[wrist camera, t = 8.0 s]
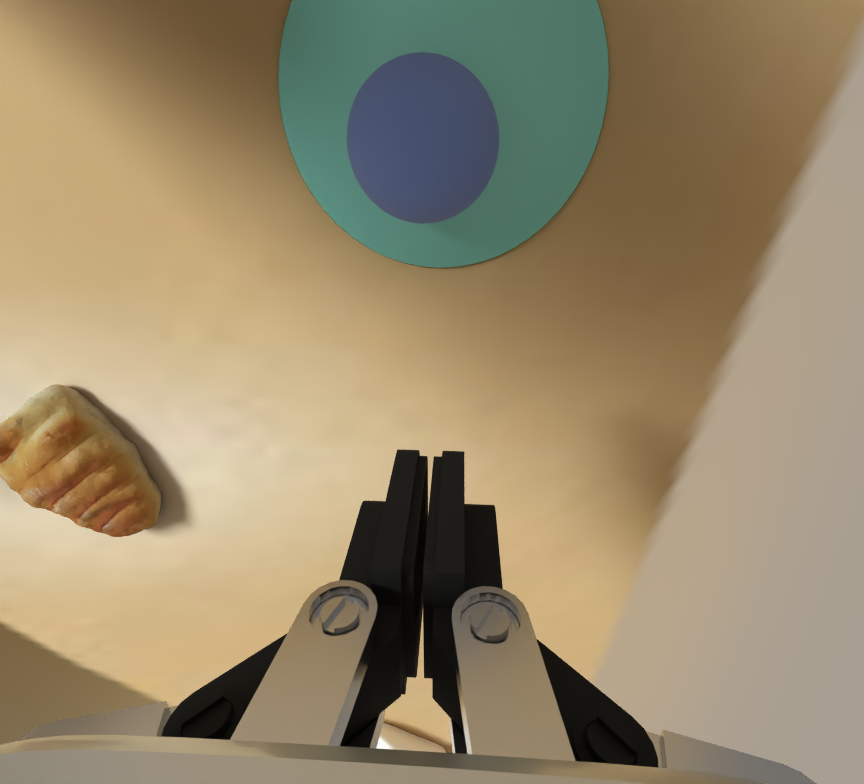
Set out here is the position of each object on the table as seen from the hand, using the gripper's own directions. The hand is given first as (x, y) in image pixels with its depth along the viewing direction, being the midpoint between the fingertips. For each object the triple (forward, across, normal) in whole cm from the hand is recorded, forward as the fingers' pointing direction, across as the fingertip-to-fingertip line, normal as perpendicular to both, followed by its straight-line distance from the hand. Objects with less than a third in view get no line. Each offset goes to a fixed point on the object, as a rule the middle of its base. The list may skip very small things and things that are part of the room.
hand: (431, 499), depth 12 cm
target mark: (+13, 0, -10) cm, 16 cm away
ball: (+10, +1, -8) cm, 13 cm away
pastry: (+13, +20, +7) cm, 25 cm away
